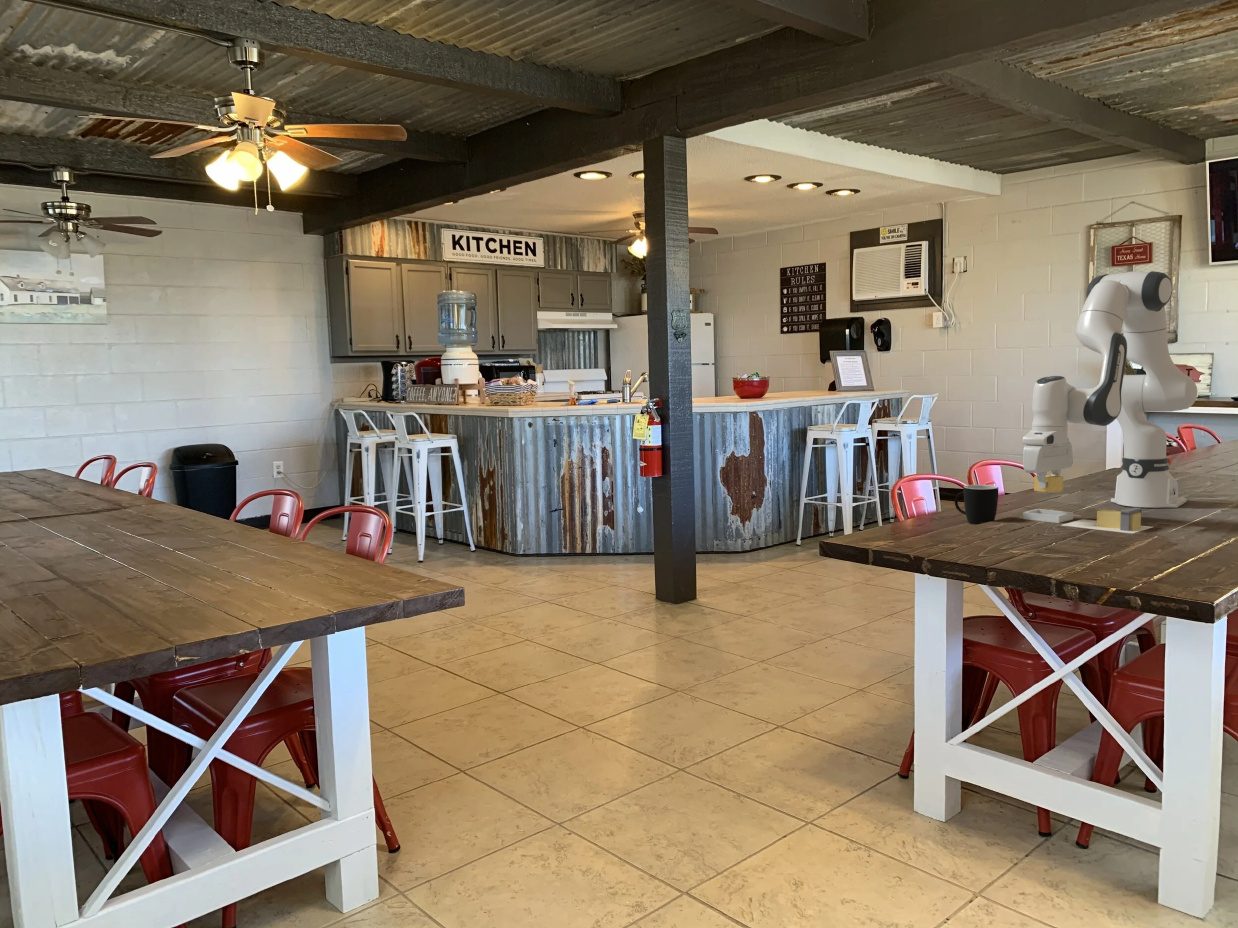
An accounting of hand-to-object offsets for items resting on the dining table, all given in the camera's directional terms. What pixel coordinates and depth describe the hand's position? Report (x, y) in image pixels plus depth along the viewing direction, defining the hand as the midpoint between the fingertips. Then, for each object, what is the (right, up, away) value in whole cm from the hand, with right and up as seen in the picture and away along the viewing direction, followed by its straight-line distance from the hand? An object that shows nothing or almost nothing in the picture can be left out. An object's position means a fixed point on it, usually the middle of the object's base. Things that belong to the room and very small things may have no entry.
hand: (1048, 487), depth 250 cm
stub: (0, -1, 0) cm, 1 cm away
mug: (-17, -10, +7) cm, 21 cm away
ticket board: (+9, -11, -12) cm, 19 cm away
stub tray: (0, -10, +1) cm, 10 cm away
